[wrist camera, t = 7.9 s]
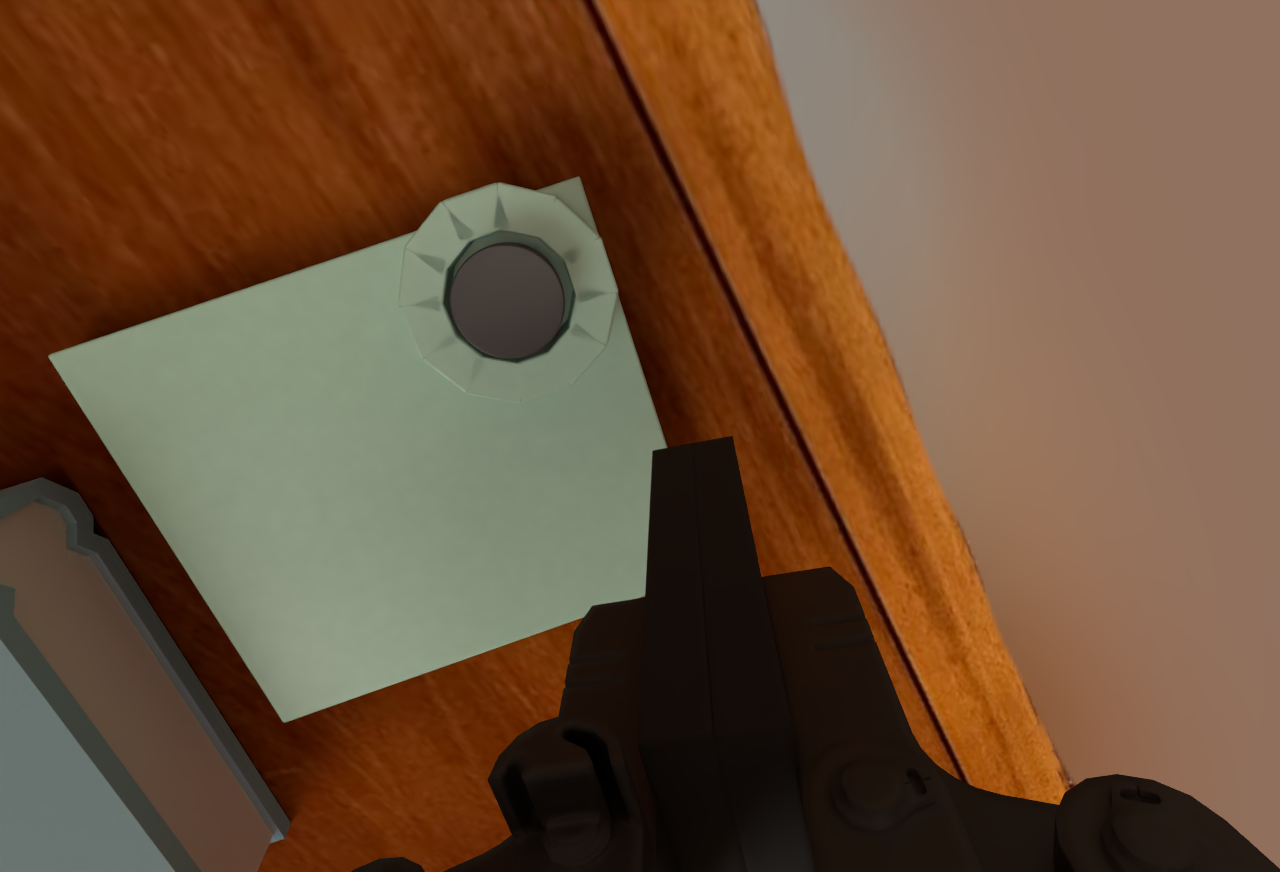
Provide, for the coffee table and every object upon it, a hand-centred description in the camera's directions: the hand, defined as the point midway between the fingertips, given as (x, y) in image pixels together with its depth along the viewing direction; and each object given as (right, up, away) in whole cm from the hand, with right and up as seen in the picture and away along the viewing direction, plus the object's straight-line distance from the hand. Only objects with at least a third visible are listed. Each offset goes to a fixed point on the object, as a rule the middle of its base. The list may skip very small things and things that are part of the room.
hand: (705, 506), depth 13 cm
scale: (-9, 0, +10) cm, 13 cm away
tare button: (-5, +5, +6) cm, 10 cm away
